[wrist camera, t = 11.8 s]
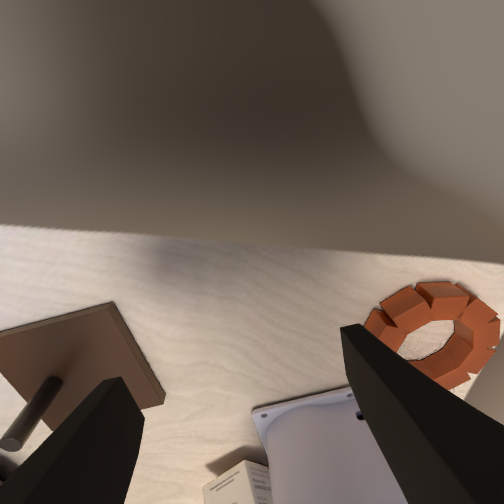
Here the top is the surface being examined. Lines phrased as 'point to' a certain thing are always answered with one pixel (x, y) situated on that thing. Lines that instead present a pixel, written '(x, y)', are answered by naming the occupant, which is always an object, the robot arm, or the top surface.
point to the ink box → (240, 486)
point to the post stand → (70, 367)
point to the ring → (440, 308)
